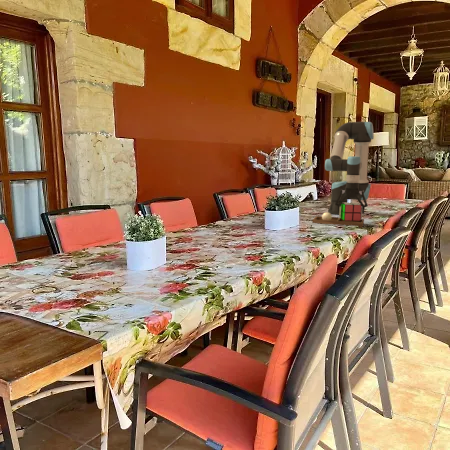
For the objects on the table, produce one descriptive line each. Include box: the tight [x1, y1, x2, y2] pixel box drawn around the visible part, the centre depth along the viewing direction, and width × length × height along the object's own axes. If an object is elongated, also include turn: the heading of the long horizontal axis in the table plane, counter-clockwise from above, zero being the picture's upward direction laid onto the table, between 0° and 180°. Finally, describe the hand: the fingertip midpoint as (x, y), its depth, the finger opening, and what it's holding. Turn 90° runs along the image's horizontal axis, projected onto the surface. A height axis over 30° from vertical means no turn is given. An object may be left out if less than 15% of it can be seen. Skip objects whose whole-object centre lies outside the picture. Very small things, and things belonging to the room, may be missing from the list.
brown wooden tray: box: [312, 215, 365, 229], centre depth 264 cm, size 15×29×3 cm, turn 68°
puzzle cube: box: [339, 202, 362, 221], centre depth 260 cm, size 10×10×10 cm
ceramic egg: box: [321, 211, 333, 220], centre depth 266 cm, size 6×6×6 cm
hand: (350, 217), depth 261 cm, fingers closed on puzzle cube, 12 cm apart
